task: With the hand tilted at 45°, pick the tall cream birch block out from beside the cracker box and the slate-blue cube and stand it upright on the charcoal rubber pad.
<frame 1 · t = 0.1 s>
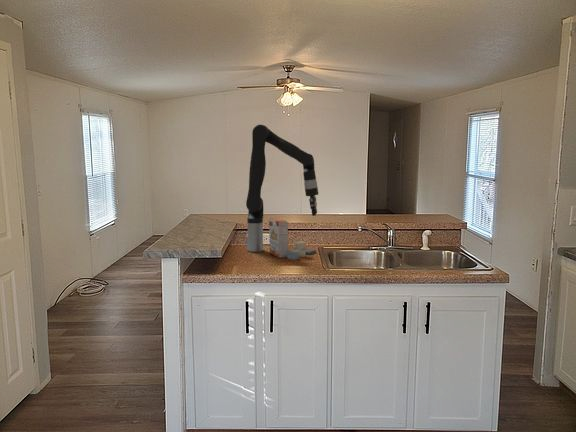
hand: (314, 214, 288), 22 cm above the worktop, tool pointing down, fingers open, 8 cm apart
charcoal pad: (306, 252, 288), on the worktop
cracker box: (278, 255, 282), on the worktop
birch block: (300, 256, 280), on the worktop
slate cube: (293, 258, 274), on the worktop
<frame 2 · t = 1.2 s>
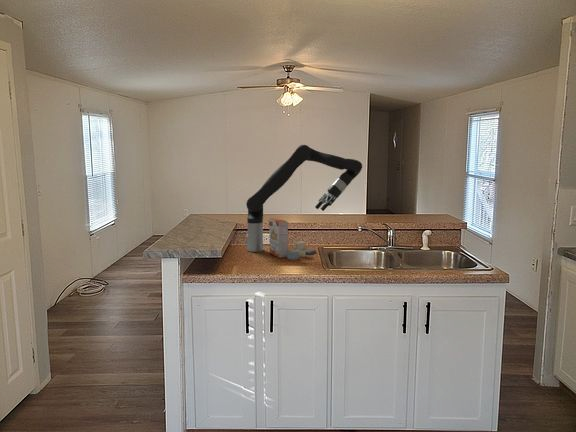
hand: (319, 209, 280), 27 cm above the worktop, tool tilted 45°, fingers open, 8 cm apart
nothing on the worktop moved.
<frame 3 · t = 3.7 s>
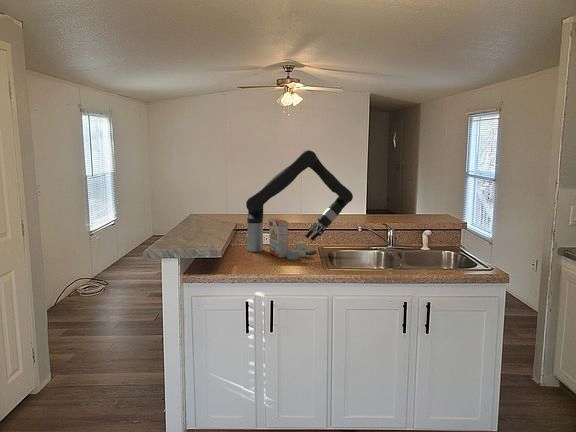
hand: (308, 238, 280), 10 cm above the worktop, tool tilted 45°, fingers open, 8 cm apart
nothing on the worktop moved.
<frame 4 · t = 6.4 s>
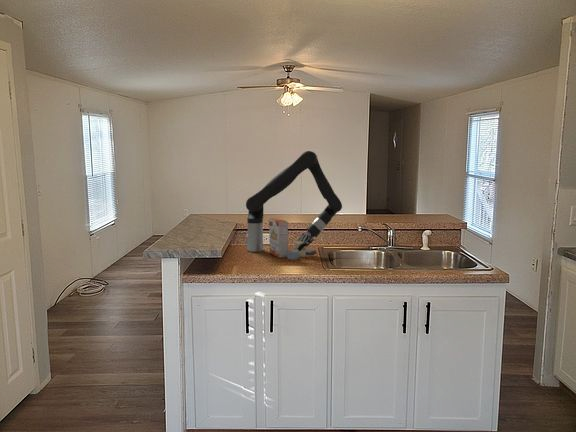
hand: (296, 249, 279), 4 cm above the worktop, tool tilted 45°, fingers closed on birch block, 5 cm apart
birch block: (300, 256, 280), on the worktop, touching gripper
everything else where it was.
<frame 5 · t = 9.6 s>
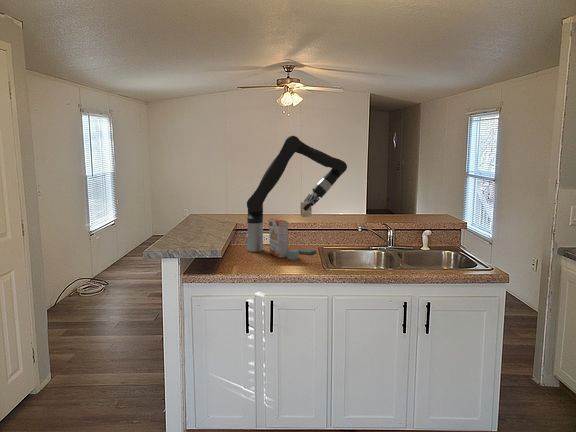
hand: (302, 209, 284), 26 cm above the worktop, tool tilted 45°, fingers closed on birch block, 5 cm apart
birch block: (306, 216, 285), point 22 cm above the worktop, touching gripper
everything else where it was.
when the fingers open (7 cm above the worktop, at t = 12.9 s): birch block drops 1 cm, resting on charcoal pad.
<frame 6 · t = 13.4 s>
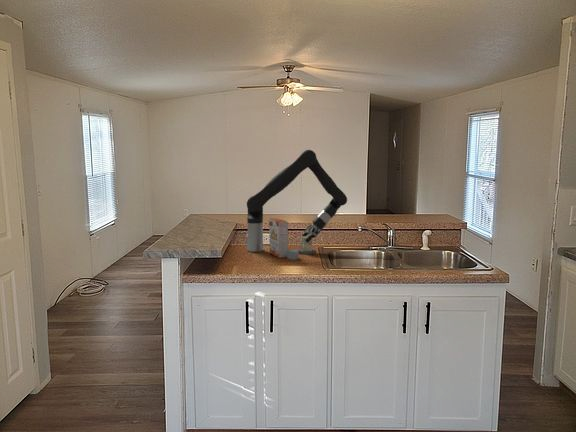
hand: (303, 240, 287), 8 cm above the worktop, tool tilted 45°, fingers open, 8 cm apart
birch block: (306, 250, 288), point 1 cm above the worktop, touching charcoal pad
everything else where it was.
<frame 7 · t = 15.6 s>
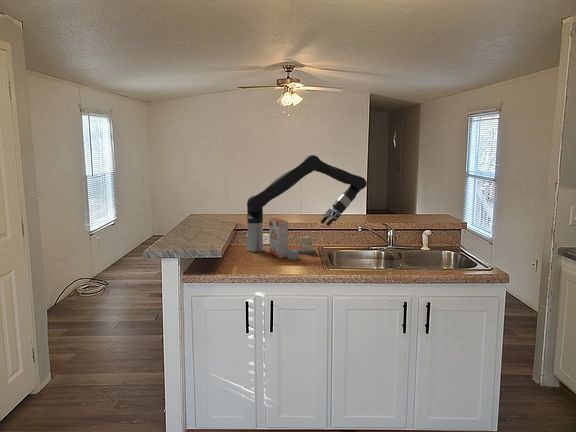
hand: (324, 223, 290), 17 cm above the worktop, tool tilted 45°, fingers open, 8 cm apart
nothing on the worktop moved.
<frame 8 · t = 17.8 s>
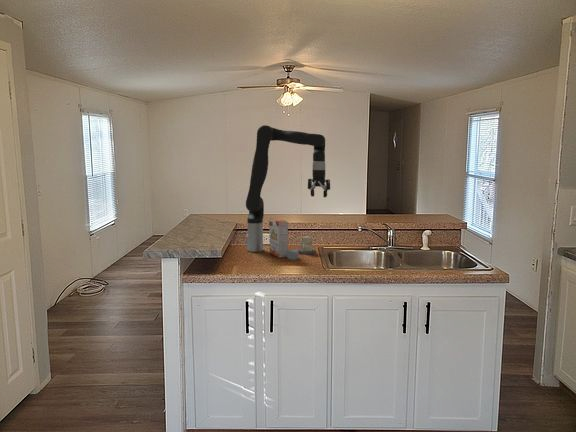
hand: (318, 196, 286), 33 cm above the worktop, tool pointing down, fingers open, 8 cm apart
nothing on the worktop moved.
at the end: birch block inside the target area on the charcoal pad (0.1 cm from its centre), point 1.5 cm above the charcoal pad's base; birch block tilted 0°; the gripper is holding nothing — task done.
